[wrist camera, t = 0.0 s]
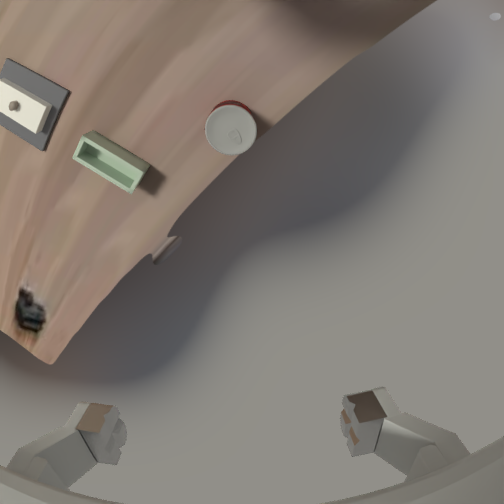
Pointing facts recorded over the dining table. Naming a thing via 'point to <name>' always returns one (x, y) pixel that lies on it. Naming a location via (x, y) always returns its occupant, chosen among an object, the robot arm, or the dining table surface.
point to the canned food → (231, 128)
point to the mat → (39, 88)
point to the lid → (23, 106)
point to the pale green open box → (110, 161)
